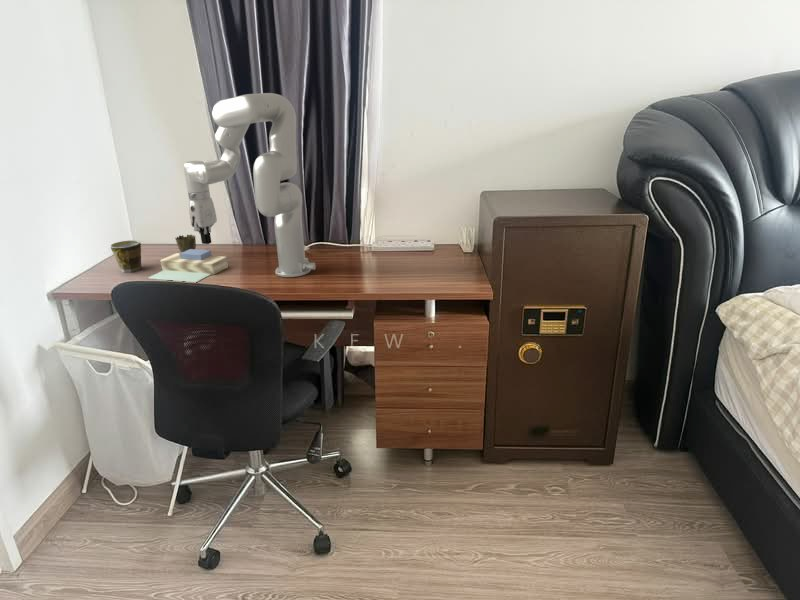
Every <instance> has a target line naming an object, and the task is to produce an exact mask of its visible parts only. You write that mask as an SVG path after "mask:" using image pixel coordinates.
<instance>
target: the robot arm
mask: <svg viewBox="0 0 800 600" xmlns="http://www.w3.org/2000/svg"><path fill="white" fill-rule="evenodd" d="M211 115H212V118H213V122H214V123H215V124H216V125H217V126H218V127H217V129H216V132H215V134H214V139H215V142H217V144H218V145H220V146H221V147H222V148H224V150H223V152H222V155H221V157H220V158H219V159H218V160H213V161H212V160H211V161H208V162H204V161H202V160H190V161H186V162H185V163H183V169H184V177H185V182H186V189H187V195H188V201H189V202H188V209H189V220H190V225H191V226H192V227H193V232H198V234H199V235H200V240H201V243H202V245H203V244H204V245H209V244H212V238H211V232H212V227H213V226H214V225H215V224H216V223H217V220H218V219H217V214H216V208H215V205H214V202H213V198H212V197H211V192H210V186H209V185H213V184H217V183H221V182H226V181H228V180H230V179H232V177H233V176H234V174H235V173H236V171H237V169H238V167H239V166H240V162H241V149H240V146H241V143H242V141H243V140H244V137H245V135H246V133H247V131H248V130H249V127H250V125H251V124H255V123H266V122H271V123H272V126H271V128H270V131H269V137H268V141H269V152H264V153H261V154H259V156H257V158H256V159H255V161H254V163H253V168H252V171H253V172H252V175H253V176H252V177H253V188H254V189H253V190H254V191H253V192H254V201H255V206H256V208H257V210H258V211H259V213H260V214H261V215H263V216H264V217H267V218H268V217H269V218H271V217H273V218H274V219H273V220H274V221H273V222H274V224H273V225H274V226H273V227H274V235H275V243H276V253H277V259H278V260H277V261H278V266H277V267H276V268H275V269H274V270H275V271H274V273H275V275H276V276H279V277H282V278H295V277H301V276H305V275H307V274H310V273H311V271H312V270H314V271H315V270H316V268H317V266H316V263H315V262H309V258H308V257H306V249H305V241H304V229H303V218H302V217H303V216H302V214H303V213H302V211H303V209H302V208H303V193H302V191H301V190H300V188H299V186H297V185H296V184H294V183H292V182H289V181H288V182H285V180H289V179H291V178H293V177H294V176H295V175H296V174H297V170H298V159H297V156H298V155H297V139H296V137H297V136H296V135H297V134H296V133H297V115H296V111H295V108H294V106H293V105H292V103H291V102H290V101H289V99H288V98H286V97H285V96H283V95H281V94H277V93H273V92H264V93H263V92H261V93H247V94H242V95H241V94H240V95H238V96H234V97H229V98H224V99H220V100H218V101H216V103H215V104H214V105H213V107H212V111H211ZM282 181H284V182H282Z"/></svg>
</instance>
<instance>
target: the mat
mask: <svg viewBox="0 0 800 600" xmlns="http://www.w3.org/2000/svg"><path fill="white" fill-rule="evenodd" d="M210 276H211V274H208V273H196V272H183V271H171V270H163V271H162V270H161V271H159V272H157V273H155V274H153V275H150V276H149V277H147V278H146V279H147V280H158V281H166V280H173V281H172V282H178V281H186V282H185V283H189V282H197V283H198V282H200V281H202V280H204V279H206V278H208V277H210Z"/></svg>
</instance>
